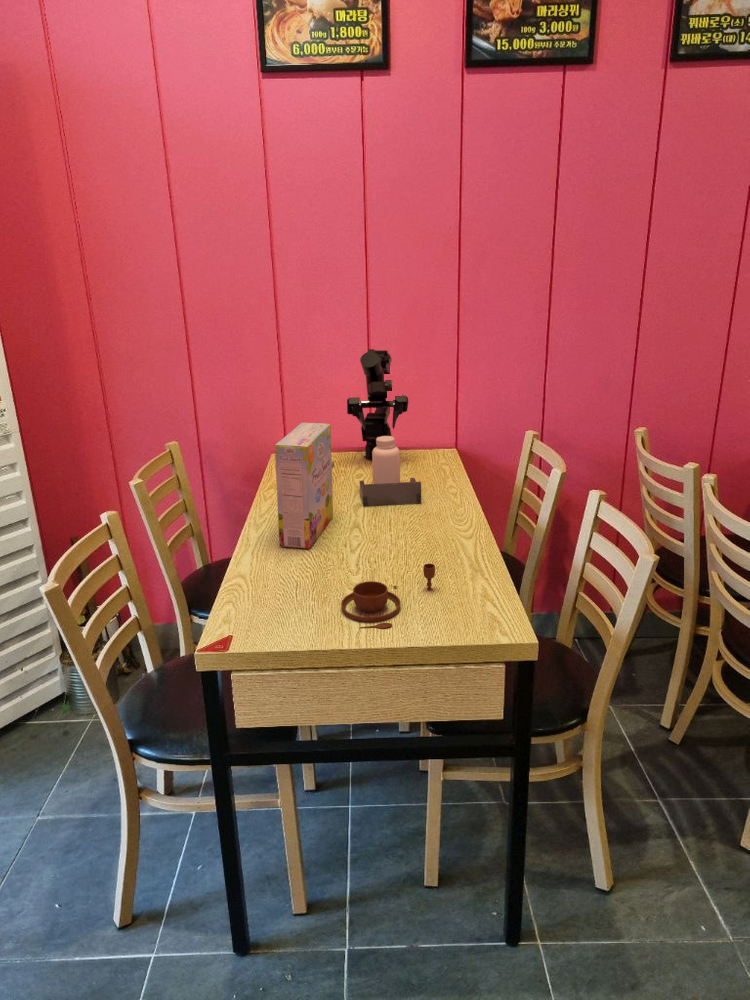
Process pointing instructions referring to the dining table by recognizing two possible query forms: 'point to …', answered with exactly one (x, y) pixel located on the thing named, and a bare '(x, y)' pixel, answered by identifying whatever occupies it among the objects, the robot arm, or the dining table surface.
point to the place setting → (378, 599)
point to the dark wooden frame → (391, 493)
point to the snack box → (304, 484)
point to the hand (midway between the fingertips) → (379, 428)
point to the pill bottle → (386, 461)
